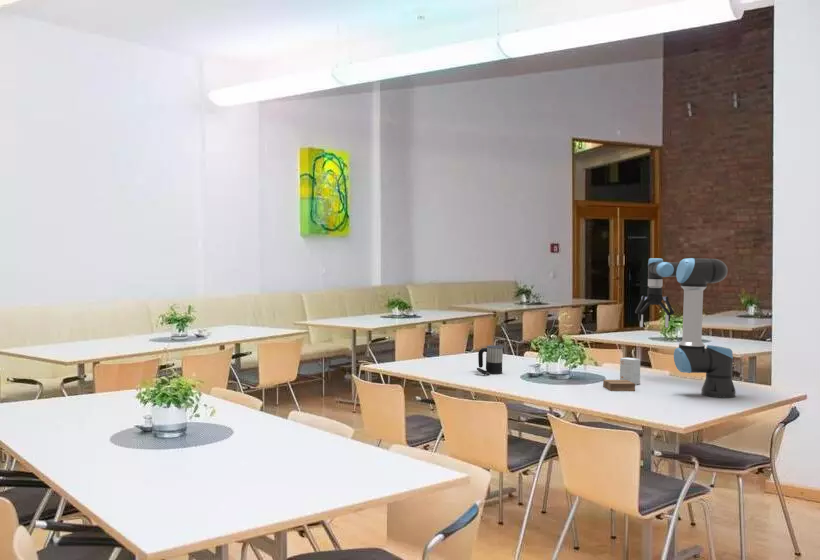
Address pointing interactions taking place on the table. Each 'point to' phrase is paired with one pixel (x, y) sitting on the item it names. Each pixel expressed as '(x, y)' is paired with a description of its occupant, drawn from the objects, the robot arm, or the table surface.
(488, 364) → the milk frother
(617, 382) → the walnut block
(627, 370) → the small box
